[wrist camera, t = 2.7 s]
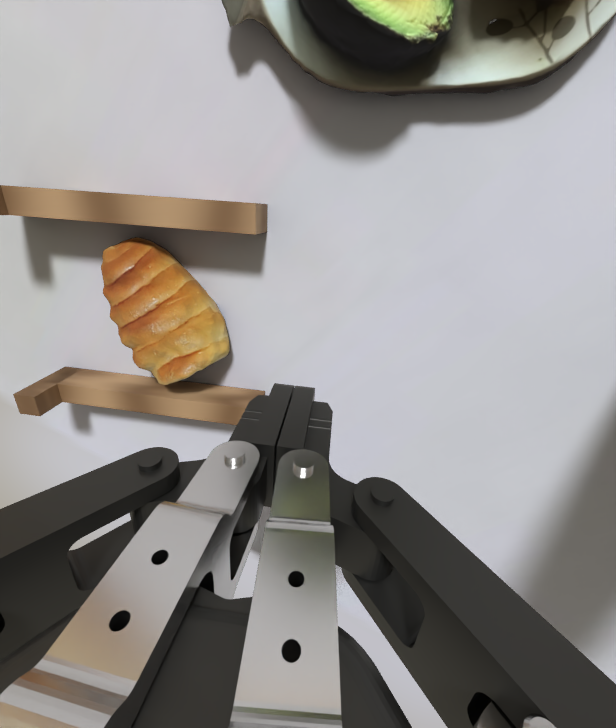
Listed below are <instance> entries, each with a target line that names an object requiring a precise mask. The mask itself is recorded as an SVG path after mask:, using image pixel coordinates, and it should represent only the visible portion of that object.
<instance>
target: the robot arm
mask: <svg viewBox="0 0 616 728" xmlns="http://www.w3.org/2000/svg"><path fill="white" fill-rule="evenodd" d="M314 396H315V388H310V387H302V386H295V388H294V386H293V385H285V384H276V383H275V384H274V386H273V388H272V390H271V393H270V395H269V396H265V395H258V396H256V397H255V398H253V399H252V400H251V401H249V403H248V405H247V407H246V409H245V412H244V413H243V415H242V416H241V419H240V420H239V422H238V424H237V426H236V428H235V430H234V432H233V434H232V436H231V437H230V439H229V441H228V442H225V443H223V444H220V445H219V446H217V447H216V448H214V449H213V450H212V452H211V453H210V454H209V456H208V457H207V459H203V460H197V461H187V462H179V459H178V455H177V454H176V453H175V452H174V451H173V450H171V449H168V448H163V447H154V448H148V449H144V450H142V451H139V452H137V453H134V454H132V455H129V456H127V457H125V458H122V459H120V460H117V461H115V462H113V463H110V464H108V465H105V466H103V467H101V468H98V469H96V470H94V471H91V472H89V473H86V474H84V475H81V476H79V477H77V478H74V479H72V480H69V481H67V482H65V483H62V484H60V485H57V486H55V487H52V488H50V489H48V490H45V491H43V492H40V493H38V494H36V495H33V496H31V497H29V498H26V499H24V500H21V501H19V502H16V503H14V504H12V505H9V506H7V507H4V508H2V509H0V728H412V727H411V725H410V723H409V722H408V720H407V718H406V716H405V715H404V713H403V711H402V710H401V708H400V706H399V705H398V703H397V701H396V700H395V698H394V696H393V694H392V693H391V691H390V690H389V688H388V686H387V684H386V682H385V681H384V680H383V677H382V676H381V674H380V673H379V671H378V669H377V667H376V666H375V664H374V663H373V661H372V660H371V658H370V657H369V656H368V654H367V653H366V652H365V650H364V649H363V648H362V647H361V646H360V645H359V644H358V643H357V642H356V640H354V638H353V637H351V636H350V635H349V634H348V633H346V632H345V631H344V630H343V629H342V628H340V627H339V626H338V620H337V594H336V568H335V564H336V565H338V566H339V567H341V568H342V573H343V575H344V578H345V579H346V581H347V582H348V584H349V585H350V587H351V588H352V590H353V591H354V593H355V594H356V596H357V597H358V598H359V600H360V601H361V603H362V604H363V606H364V607H365V609H366V610H367V611H368V613H369V614H370V616H371V617H372V619H373V620H374V622H375V623H376V624H377V626H378V627H379V629H380V630H381V632H382V633H383V635H384V636H385V638H386V639H387V640H388V642H389V643H390V645H391V646H392V648H393V649H394V651H395V652H396V653H397V655H398V656H399V658H400V659H401V661H402V662H403V663H404V665H405V667H406V668H407V669H408V671H409V672H410V674H411V675H412V677H413V678H414V680H415V681H416V682H417V684H418V685H419V687H420V688H421V690H422V691H423V693H424V694H425V695H426V697H427V698H428V700H429V701H430V703H431V704H432V706H433V707H434V709H435V710H436V711H437V713H438V714H439V716H440V717H441V719H442V720H443V722H444V723H445V724H446V726H447V727H448V728H616V684H615V683H614V682H613V681H612V680H610V679H609V678H608V677H607V676H606V675H605V674H604V673H603V672H602V671H601V670H600V669H598V668H597V667H596V666H595V665H594V664H593V663H592V662H591V661H590V660H589V659H588V658H586V657H585V656H584V655H583V654H582V653H581V652H580V651H579V650H578V649H577V648H576V647H574V646H573V645H572V644H571V643H570V642H569V641H568V640H567V639H566V638H565V637H564V636H562V635H561V634H560V633H559V632H558V631H557V630H556V629H555V628H554V627H553V626H552V625H550V624H549V623H548V622H547V621H546V620H545V619H544V618H543V617H542V616H541V615H540V614H538V613H537V612H536V611H535V610H534V609H533V608H532V607H531V606H530V605H529V604H528V603H526V602H525V601H524V600H523V599H522V598H521V597H520V596H519V595H518V594H517V593H516V592H515V591H513V590H512V589H511V588H510V587H509V586H508V585H507V584H506V583H505V582H504V581H503V580H501V579H500V578H499V577H498V576H497V575H496V574H495V573H494V572H493V571H492V570H491V569H489V568H488V567H487V566H486V565H485V564H484V563H483V562H482V561H481V560H480V559H479V558H477V557H476V556H475V555H474V554H473V553H472V552H471V551H470V550H469V549H468V548H467V547H465V546H464V545H463V544H462V543H461V542H460V541H459V540H458V539H457V538H456V537H455V536H453V535H452V534H451V533H450V532H449V531H448V530H447V529H446V528H445V527H444V526H443V525H441V524H440V523H439V522H438V521H437V520H436V519H435V518H434V517H433V516H432V515H431V514H429V513H428V512H427V511H426V510H425V509H424V508H423V507H422V506H421V505H420V504H419V503H417V502H416V501H415V500H414V499H413V498H412V497H411V496H410V495H409V494H408V493H407V492H405V491H404V490H403V489H402V488H401V487H400V486H399V485H397V484H396V483H394V482H392V481H390V480H387V479H384V478H379V477H371V478H366V479H363V480H362V481H360V482H359V483H358V484H354V483H352V482H349V481H347V480H345V479H343V478H341V477H340V476H339V475H337V474H336V473H335V472H334V471H333V469H332V468H331V466H330V463H329V450H330V438H331V425H332V413H333V411H332V410H331V408H330V406H329V405H328V403H324V402H316V401H314ZM263 506H267V507H271V511H270V517H269V520H267V521H266V525H265V530H264V536H263V542H262V547H261V553H260V558H259V564H258V570H257V575H256V581H255V587H254V592H253V597H250V598H240V599H233V597H234V593H235V589H236V586H237V583H238V581H239V578H240V576H241V573H242V570H243V568H244V565H245V562H246V560H247V557H248V555H249V552H250V549H251V547H252V544H253V541H254V539H255V536H256V533H257V531H258V526H259V519H260V516H261V512H262V509H263ZM127 513H130V516H131V520H130V521H129V522H127V523H125V524H123V525H122V526H119V527H118V528H116V529H114V530H112V531H110V532H108V533H106V534H104V535H103V536H101V537H99V538H97V539H95V540H94V541H91V542H90V543H88V544H86V545H84V546H82V547H81V548H78V549H75V550H70V551H69V549H70V547H71V546H72V545H73V544H74V543H75V542H76V541H77V540H79V539H80V538H82V537H84V536H86V535H88V534H89V533H91V532H93V531H95V530H97V529H99V528H100V527H103V526H105V525H106V524H109V523H110V522H112V521H114V520H116V519H118V518H120V517H122V516H124V515H125V514H127Z"/></svg>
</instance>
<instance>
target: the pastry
mask: <svg viewBox="0 0 616 728" xmlns="http://www.w3.org/2000/svg"><path fill="white" fill-rule="evenodd" d="M102 257H103V263H102V265H101V270H102V275H103V280H104V289H103V294H104V296H105V297H106V298H107V300H108V301H109V303H110V306H111V310H110V318H111V319H112V320H113V321H114V322H115V323H116V324H117V325H118V329H119V336H120V338H121V342H122V344H124V345H125V346H127V347H129V348H131V349H132V350H133V360H134V363H135V364H136V365H137V366H138V367H139V368H142V369H145V370H148V371H151V372H152V374H153V375H154V377H155V378H156V379H157V380H158V383H160V384H162V385H168V384H170V383H174V382H177V381H180V380H183V379H186V378H188V377H190V376H191V375H193V374H194V373H195V372H197V371H199V370H203V369H204V368H206V367H207V366H209V365H211V364H213V363H214V362H216V361H218V360H220V359H222V358H225V357H226V356H227V355H228V353H229V338H228V333H227V329H226V324H225V319H224V317H223V316H222V314H221V312H220V310H219V309H218V307H217V304H216V303H215V302H214V301H213V299H212V298H211V297H210V296H209V295H208V294H207V292H206V291H205V290H204V289H203V288H202V287H201V285H200V284H199V283H198V281H197V280H196V279H194V278H193V277H192V276H191V274H190V273H189V272H188V271H187V270H186V269H185V268H184V267H183V266H182V265H181V264H180V263H179V262H178V261H177V260H176V259H175V258H174V257H173V256H172V255H171V254H170V253H169V252H168V251H167V250H165V249H164V248H162V247H160V246H158V245H157V244H155V243H153V242H152V241H149V240H146V239H143V238H138V237H135V238H132V239H128V240H125V241H122V242H120V243H119V244H117V245H114V246H111V247H109V248H107V249H105V250H104V251H103V256H102Z"/></svg>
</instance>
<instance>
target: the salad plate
mask: <svg viewBox="0 0 616 728" xmlns="http://www.w3.org/2000/svg"><path fill="white" fill-rule="evenodd" d="M222 3H223V6H224V8H225V10H226V13H227V18H228V21H229V24H230V27H231V26H234V25H236V24H239V23H242V22H243V21H244V20H246V19H255V20H256V21H258V22H260V23H261V24H262V25H264V26H265V27H266V28H267V29H268V30H269V31H270V32H271V33H272V35H273V36H274V37H275V38H276V39H277V41H278V42H279V43H280V45H281V46H282V47H283V48H284V49H285V50H286V51H287V53H288V54H289V55H290V57H291V58H292V59H293V60H294V61H295V62H296V63H297V64H298V65H299V66H300V67H301V68H302V69H303V70H304V71H305V72H307V73H308V74H311V75H312V76H313V77H315V78H316V79H317V80H319V81H321V82H322V83H325V84H327V85H329V86H332V87H335V88H340V89H344V90H349V91H355V92H375V93H381V94H386V95H390V96H398V95H405V94H416V93H491V92H495V91H499V90H505V89H513V88H518V87H524V86H529V85H532V84H535V83H537V82H539V81H541V80H543V79H545V78H547V77H548V76H550V75H551V74H553V73H554V72H555V71H557V70H558V69H560V68H561V67H562V66H564V65H565V64H566V63H568V62H569V61H570V60H572V59H573V57H574V56H575V55H576V54H577V53H578V52H579V51H580V50H581V49H582V48H583V47H584V46H586V45H587V44H588V43H589V42H590V41H591V40H592V39H593V38H594V37H595V36H596V35H597V34H598V33H599V32H600V31H601V30H602V29H603V28H604V27H605V26H606V24H607V23H608V22H609V21H610V20H611V19H612V18H613V16H614V15H615V14H616V0H222ZM493 19H497V20H496V21H495V22H493V23H491V24H489V23H490V21H491V20H493Z"/></svg>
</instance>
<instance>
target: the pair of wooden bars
mask: <svg viewBox="0 0 616 728" xmlns="http://www.w3.org/2000/svg"><path fill="white" fill-rule="evenodd" d="M0 215H17V216H29V217H42V218H54V219H67V220H80V221H92V222H105V223H117V224H130V225H142V226H155V227H168V228H180V229H193V230H205V231H218V232H231V233H243V234H260V233H265V232H267V204H257V203H243V202H229V201H215V200H201V199H186V198H172V197H158V196H144V195H130V194H116V193H102V192H88V191H73V190H59V189H45V188H31V187H17V186H3V185H0ZM13 395H14V398H15V401H16V403H17V406H18V409H19V412H20V413H21V414H28V415H35V416H41V415H43V414H44V413H46V412H47V411H49V410H51V409H52V408H54V407H55V406H57V405H58V404H60V403H61V402H67V403H75V404H82V405H90V406H97V407H105V408H112V409H120V410H127V411H135V412H142V413H150V414H157V415H165V416H172V417H180V418H187V419H195V420H202V421H210V422H217V423H225V424H232V425H237V424H238V422H239V420H240V419H241V416H242V415H243V413H244V412H245V409H246V407H247V405H248V403H249V401H251V400H252V399H253V398H255V397H256V396H258V395H265V391H259V390H251V389H243V388H235V387H226V386H218V385H210V384H202V383H194V382H186V381H177V382H174V383H170V384H168V385H162V384H160V383H158V380H157V379H156V378H153V377H145V376H137V375H129V374H120V373H112V372H104V371H96V370H88V369H80V368H72V367H64V368H62V369H60V370H58V371H56V372H54V373H53V374H51V375H49V376H47V377H45V378H43V379H41V380H39V381H38V382H36V383H34V384H32V385H30V386H28V387H26V388H24V389H22V390H21V391H19V392H17V393H15V394H13Z"/></svg>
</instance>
